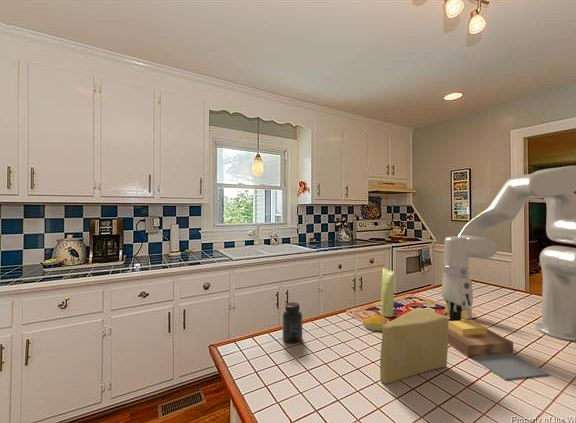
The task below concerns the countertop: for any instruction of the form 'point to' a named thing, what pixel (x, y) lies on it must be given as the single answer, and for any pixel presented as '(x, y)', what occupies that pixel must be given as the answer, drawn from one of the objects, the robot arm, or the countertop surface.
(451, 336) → the brown wooden block
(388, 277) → the tube
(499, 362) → the mat
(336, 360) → the countertop surface
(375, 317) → the bread roll
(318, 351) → the countertop surface
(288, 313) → the supplement bottle
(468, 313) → the candy box
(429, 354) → the cheese
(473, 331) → the yellow block
